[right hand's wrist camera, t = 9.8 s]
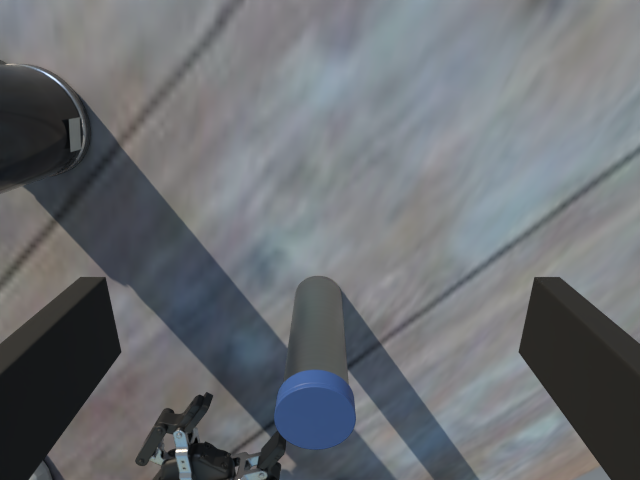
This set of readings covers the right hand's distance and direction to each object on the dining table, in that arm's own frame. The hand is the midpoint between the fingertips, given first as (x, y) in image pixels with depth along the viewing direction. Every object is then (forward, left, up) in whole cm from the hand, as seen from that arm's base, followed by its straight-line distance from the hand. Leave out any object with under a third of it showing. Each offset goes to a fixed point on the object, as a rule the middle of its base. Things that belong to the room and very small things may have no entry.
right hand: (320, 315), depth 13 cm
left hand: (-1, +26, -21) cm, 33 cm away
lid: (-4, +14, -10) cm, 18 cm away
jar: (-4, +14, -27) cm, 30 cm away
